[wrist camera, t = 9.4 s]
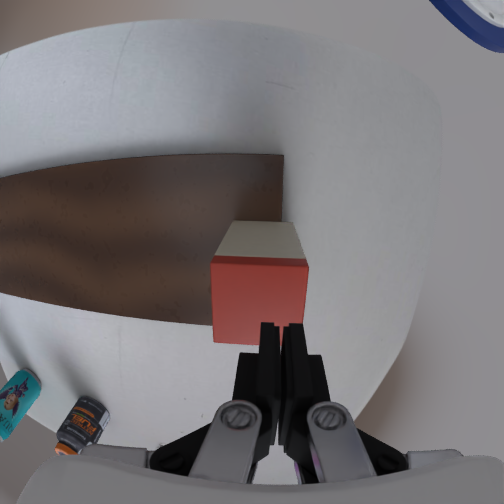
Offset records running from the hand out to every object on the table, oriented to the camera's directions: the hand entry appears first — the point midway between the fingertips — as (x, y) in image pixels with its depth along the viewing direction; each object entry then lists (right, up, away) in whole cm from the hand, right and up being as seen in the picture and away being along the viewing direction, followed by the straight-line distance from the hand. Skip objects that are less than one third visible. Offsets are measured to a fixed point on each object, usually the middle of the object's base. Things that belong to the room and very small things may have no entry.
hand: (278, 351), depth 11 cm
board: (-18, +5, +15) cm, 24 cm away
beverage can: (-40, -18, +25) cm, 51 cm away
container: (+2, +3, +9) cm, 9 cm away
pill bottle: (-26, -21, +25) cm, 42 cm away
